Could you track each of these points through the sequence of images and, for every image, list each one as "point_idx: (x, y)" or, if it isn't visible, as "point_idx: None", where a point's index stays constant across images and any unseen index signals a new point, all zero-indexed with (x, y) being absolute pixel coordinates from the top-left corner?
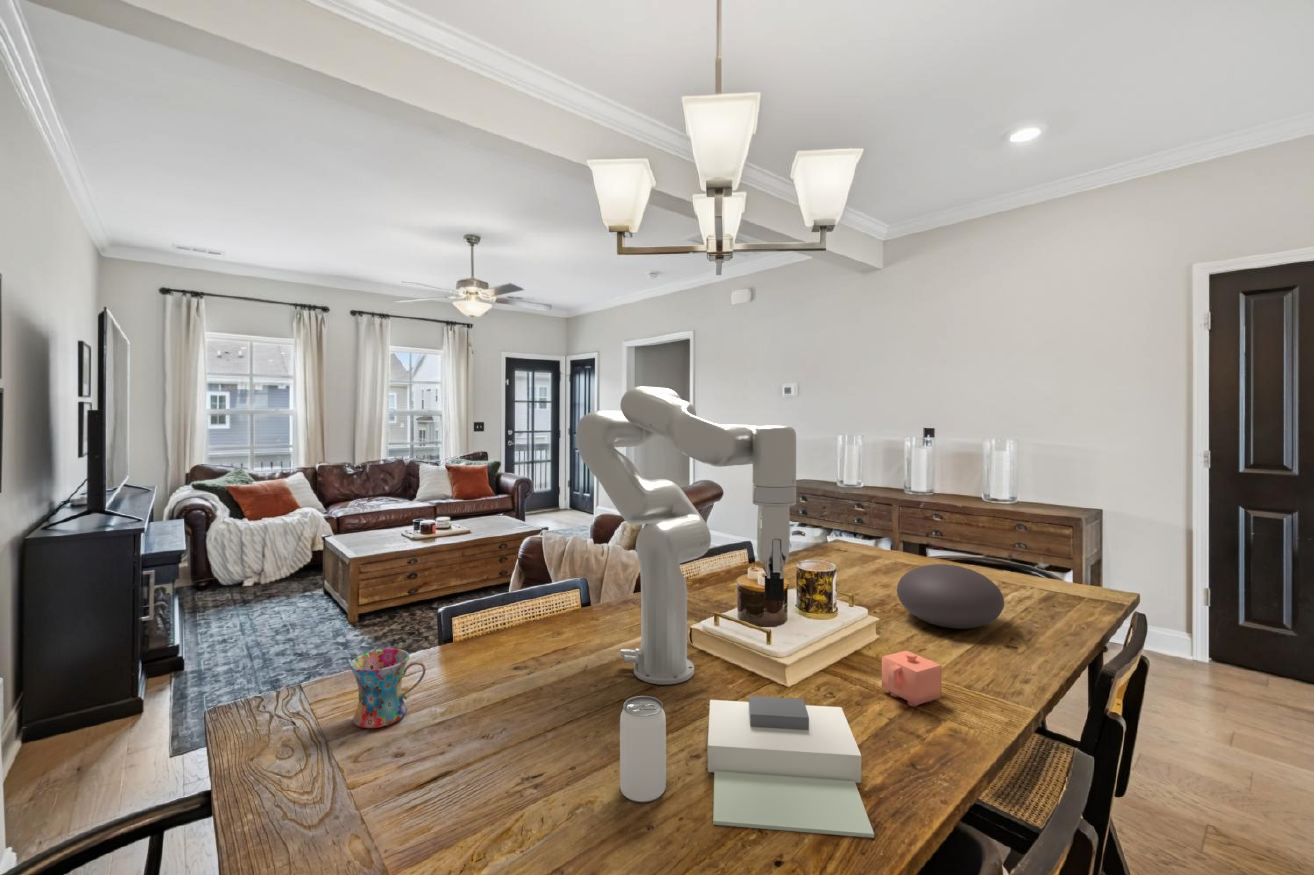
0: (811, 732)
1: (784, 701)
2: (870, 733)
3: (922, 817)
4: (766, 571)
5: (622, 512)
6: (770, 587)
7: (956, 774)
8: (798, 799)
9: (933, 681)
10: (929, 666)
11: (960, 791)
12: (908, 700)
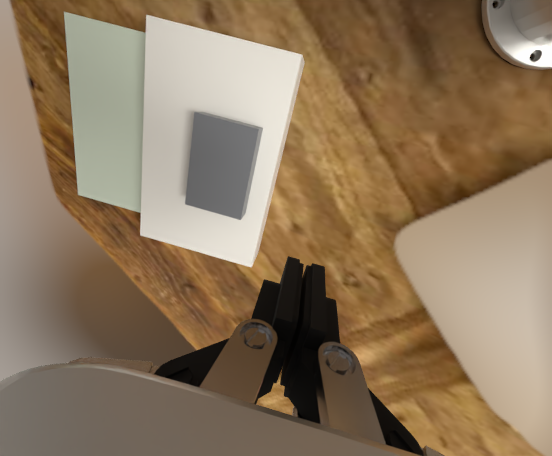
0: None
1: (235, 187)
2: (250, 279)
3: (114, 249)
4: (319, 360)
5: None
6: (257, 300)
7: (176, 311)
8: (116, 140)
9: None
10: None
11: (152, 299)
12: None
